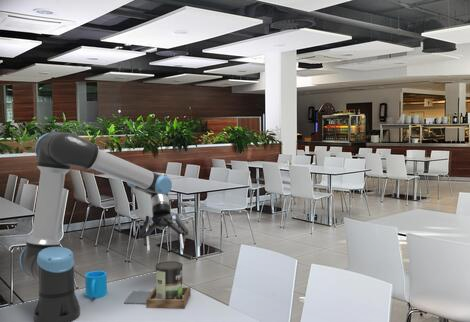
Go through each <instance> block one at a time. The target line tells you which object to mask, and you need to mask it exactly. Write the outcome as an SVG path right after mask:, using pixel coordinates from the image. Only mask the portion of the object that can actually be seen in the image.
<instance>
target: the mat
mask: <svg viewBox="0 0 470 322" xmlns="http://www.w3.org/2000/svg"><path fill="white" fill-rule="evenodd" d="M152 291H153V290H152ZM152 291H150V290H149V291H145V290H143V291H142V290H140V291H139V290H132V291H131V293H130V294H129V295H128V296H127V298H126V299H125V300H124V301H123V304H124V305H146V299H147V298H148V297H149V295H150V294H151V292H152Z"/></svg>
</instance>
